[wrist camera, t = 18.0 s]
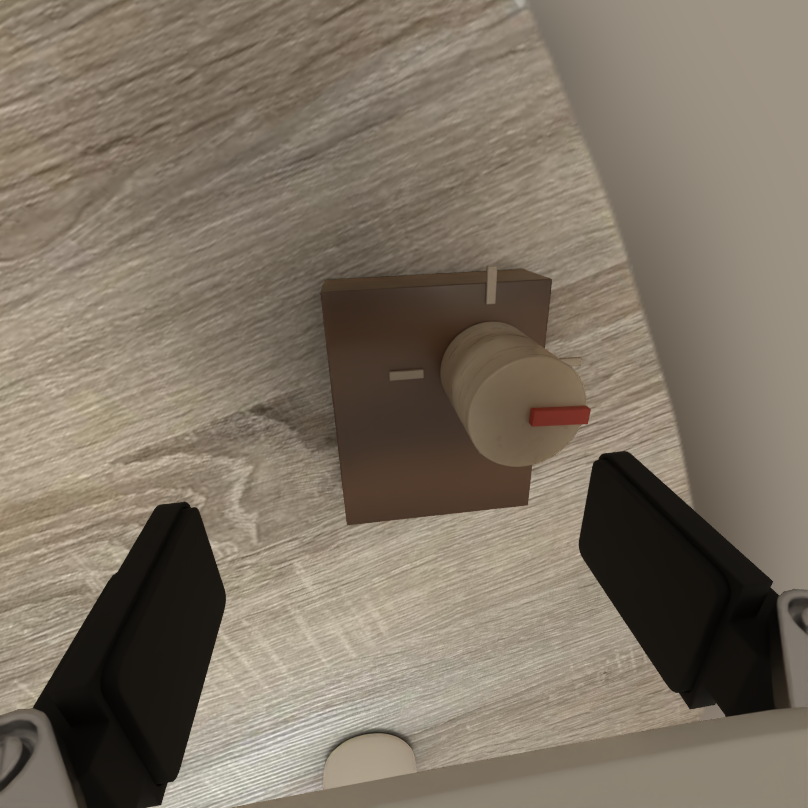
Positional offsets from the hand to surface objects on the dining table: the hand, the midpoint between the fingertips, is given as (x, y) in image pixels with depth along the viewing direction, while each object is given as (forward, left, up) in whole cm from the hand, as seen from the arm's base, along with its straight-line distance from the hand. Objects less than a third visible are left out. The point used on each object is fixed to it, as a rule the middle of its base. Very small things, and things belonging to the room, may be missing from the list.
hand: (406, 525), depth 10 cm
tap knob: (-1, +5, -8) cm, 10 cm away
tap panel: (+1, +3, -11) cm, 12 cm away
